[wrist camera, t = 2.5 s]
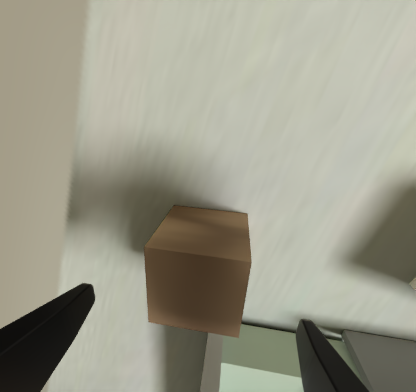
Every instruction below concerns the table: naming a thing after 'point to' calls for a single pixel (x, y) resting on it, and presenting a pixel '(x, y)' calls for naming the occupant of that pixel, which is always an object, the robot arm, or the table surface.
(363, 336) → the console
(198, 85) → the table surface
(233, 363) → the drink tray
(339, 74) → the table surface
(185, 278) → the walnut block
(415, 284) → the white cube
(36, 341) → the robot arm
